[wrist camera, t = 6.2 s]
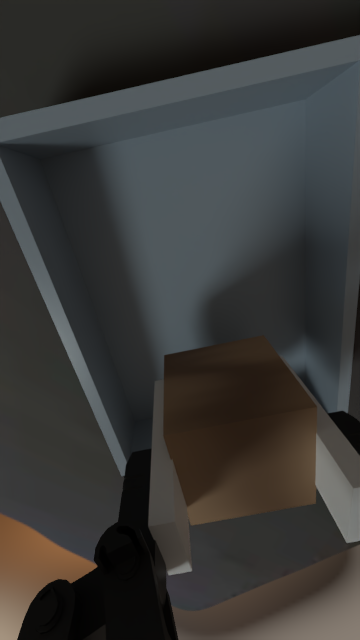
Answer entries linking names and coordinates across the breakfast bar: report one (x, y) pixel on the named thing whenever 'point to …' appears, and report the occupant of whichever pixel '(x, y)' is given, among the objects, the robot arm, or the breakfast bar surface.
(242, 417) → the walnut cube
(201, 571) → the breakfast bar surface
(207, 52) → the breakfast bar surface
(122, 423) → the tote
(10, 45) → the breakfast bar surface
